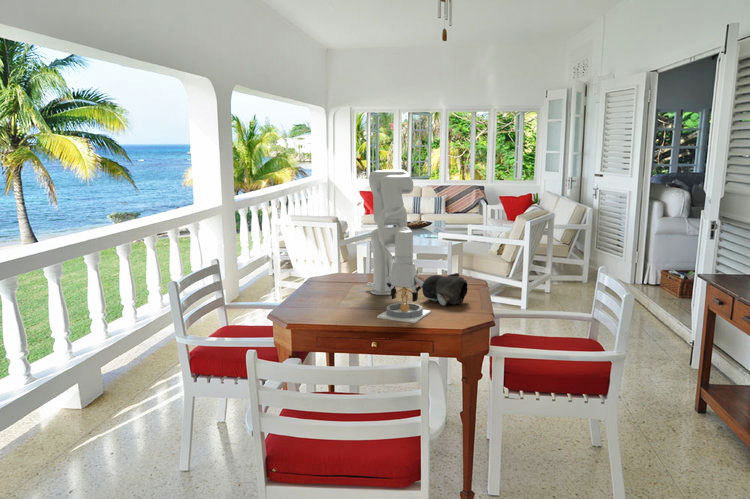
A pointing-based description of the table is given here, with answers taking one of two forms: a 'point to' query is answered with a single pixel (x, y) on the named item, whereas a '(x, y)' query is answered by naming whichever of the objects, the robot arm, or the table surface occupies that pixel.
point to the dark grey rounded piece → (445, 289)
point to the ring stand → (404, 313)
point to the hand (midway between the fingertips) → (404, 299)
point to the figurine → (404, 306)
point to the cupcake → (417, 275)
